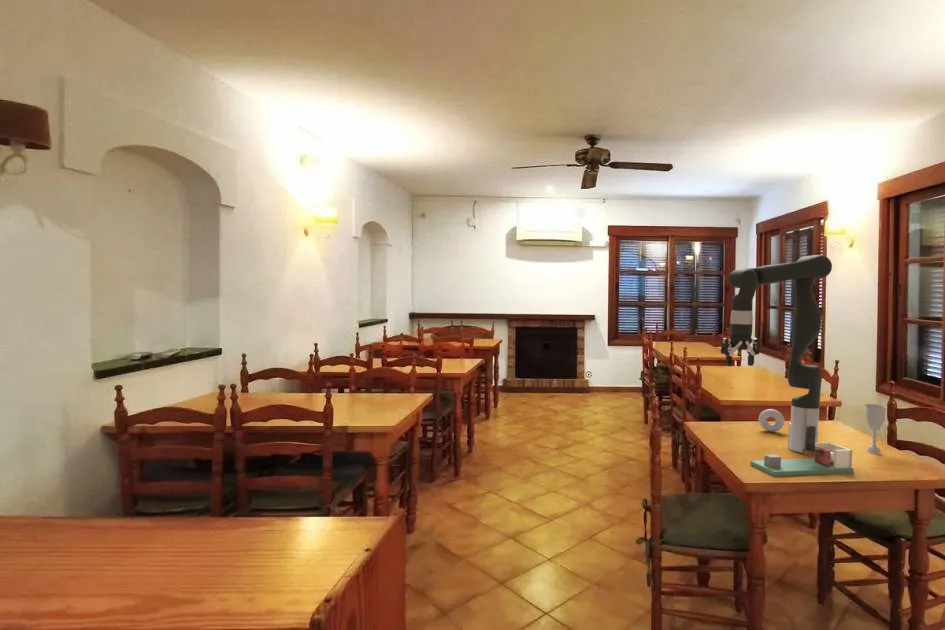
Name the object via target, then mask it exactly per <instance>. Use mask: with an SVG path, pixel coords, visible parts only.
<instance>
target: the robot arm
mask: <svg viewBox="0 0 945 630" xmlns="http://www.w3.org/2000/svg"><path fill="white" fill-rule="evenodd" d="M832 269H833V265H832V261H831V259H830V258H829V257H827V256H826V255H823V254H822V255H821V254H813V255H806V256H805V255H804V256H801V257H800V258H798V259H797V261H796V262H787V263H786V262H785V263H777V264H776V263H775V264H768V265H762V266H758V267H750V268H741V269H740V268H739V269H735V270H733V271H731V272H730V273H729V275H728V279H727V281H728V283H729V285H730V286H731V287H733V288H736V289H739V290H738V293H737V294H735V295H733V296H732V298H731V312H730V324H729V336H730V337H729V338H726V337H723V338H722V339H721V345H720V346H721V347H720V353H721V354H722V355H725V364H726V366H727V367H732V366H733V354H734V353H736V352H737V351H740V350H741V351H742V350H743V351H744V352H746V353H747V366H748V367H749V366H750V367H753V366H754V364H755V357H756V355H760V352H761V349H760V346H761V345H760V338H757V337H753V338H752V336H753V321H754V319H753V318H754V317H753V315H754V314H753V300H754V297H755V294H756V291H757V287H758V286H765V285H770V284H776V283H781V282H786V281H793V280H794V286H795V289H794V290H795V292H794V294H795V295H794V296H795V297H794V311H793V312H794V313H793V321H792V324H793V325H792V339H791V341H792V343H791V344H792V345H791V349H790V350H791V351H790V358H789V365H788V371H787V382H788V385H789V386H790V387H791V388H797V389H802V390H803V389H805V390H808V391H807V393H806V394H804V395H799V396H795V397H794V396H793V397H792V398H791V401H790V403H791V408H790V423H788V437H787V438H788V439H787V448H789V450H791V451H793V452H796V453H800V454H803V449H805V431H806V425H811V426H815V427H816V434H815V443H819V441H818V440H819V439H818V438H819V418H820V416H819V415H820V403H821V402H820V399H821V391H822V390H821V388H822V380H823V371H822V368H821V367H820V366H818V365H812V364H805V363H804V364H803V363H802V361H803V360H802V359H803V356H804V354H805V352H807V349H808V348H809V347H810V345H811V344H812V343H813V342H814V341H815V340H816V339H817V337H818V335H819V334H820V333H821V328H822V311H821V309H820V305H819V304H818V302H817V300H816V298H815V294H814V281H815V280H821V279H824V278H826V277H828V276H829V275H830V273H831V272H832ZM729 344H730V345H729ZM751 344H752V346H751Z"/></svg>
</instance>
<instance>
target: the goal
mask: <svg viewBox="0 0 945 630" xmlns="http://www.w3.org/2000/svg"><path fill="white" fill-rule="evenodd" d="M815 447H822V448H825V449H828V450H830V451H831V452H834V468H853V467H852V466H853V465H852V464H853V450H852V449H850V448H847V447H844V446H841V445H838V444H836V443H833V442H830V441H829V442H827V441H826V442H825V441H824V442H823V441H822V442H818V443H815Z"/></svg>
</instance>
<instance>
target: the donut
mask: <svg viewBox="0 0 945 630" xmlns="http://www.w3.org/2000/svg"><path fill="white" fill-rule="evenodd" d="M768 418H774V419H775V422H774V423H769V422H768ZM758 423H759V426H760V427H761V428H762V429H763V430H765V431H767V432H772V433H775V432H779V431H780V430H781V429H783V427H784V425H785V417H784V416H783V414H782V413H781V412H780V411H779V410H776V409H773V408H768V409H765V410H763V411H761V412H760V414H759V415H758Z"/></svg>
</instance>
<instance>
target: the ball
mask: <svg viewBox="0 0 945 630" xmlns="http://www.w3.org/2000/svg"><path fill="white" fill-rule="evenodd" d="M830 463H831V464H834V452H831V458H830Z"/></svg>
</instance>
